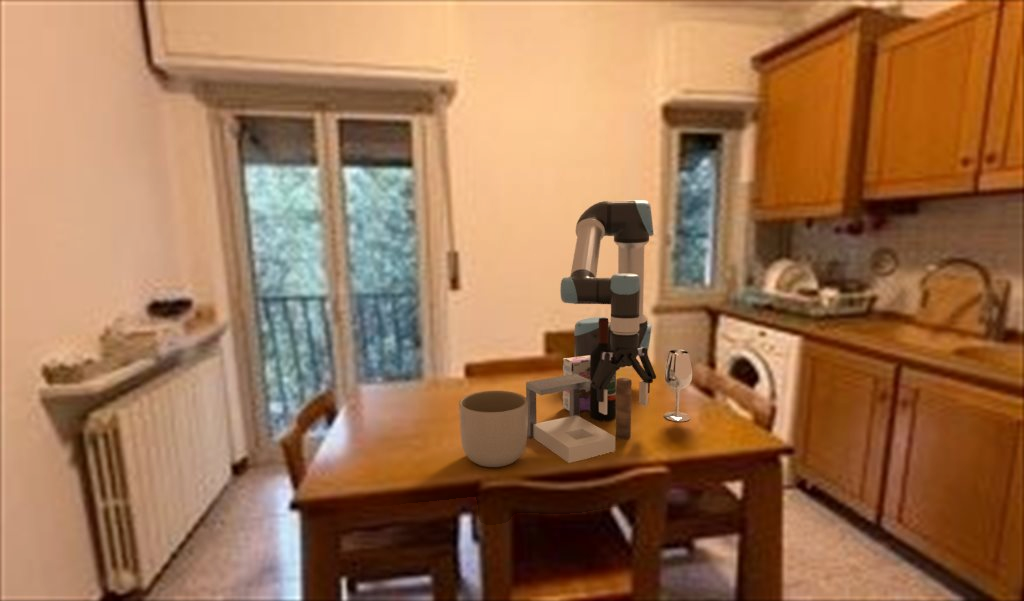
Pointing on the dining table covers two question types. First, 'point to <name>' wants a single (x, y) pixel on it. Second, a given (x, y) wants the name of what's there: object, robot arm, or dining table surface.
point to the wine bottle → (611, 385)
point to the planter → (493, 427)
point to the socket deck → (573, 438)
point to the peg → (623, 408)
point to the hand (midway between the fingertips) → (623, 409)
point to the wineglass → (678, 379)
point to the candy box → (583, 369)
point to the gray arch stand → (554, 386)
